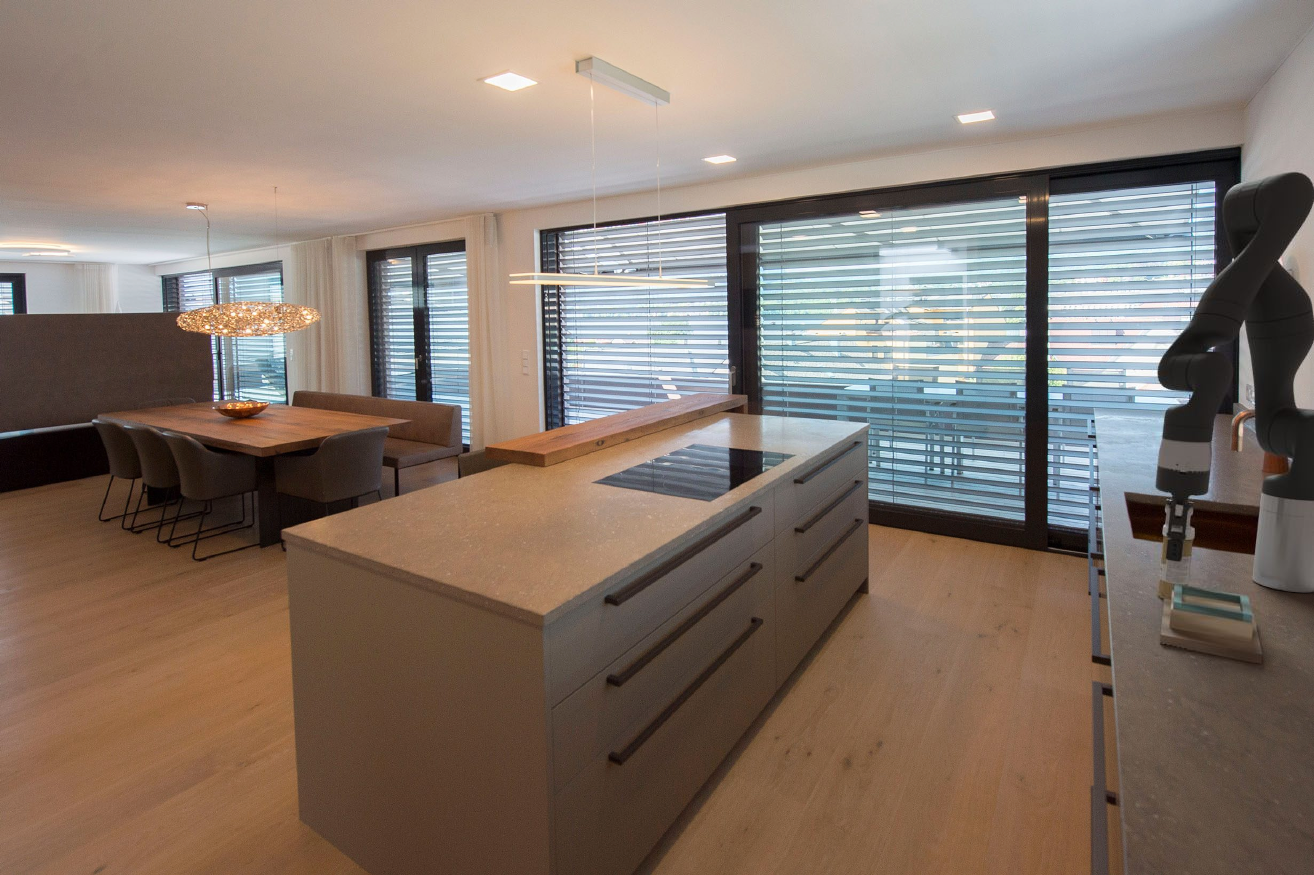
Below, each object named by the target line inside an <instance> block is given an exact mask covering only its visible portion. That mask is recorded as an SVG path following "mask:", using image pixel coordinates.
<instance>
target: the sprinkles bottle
mask: <svg viewBox="0 0 1314 875" xmlns="http://www.w3.org/2000/svg"><path fill="white" fill-rule="evenodd" d="M1172 531H1175V532H1182V530H1181V529H1177V528H1172V529H1171V532H1172ZM1167 533H1168V528H1167V527H1166V526H1165V524H1163V527H1162V535H1163V536H1162V538H1163V542H1162V549H1161V557H1160V564H1159V567H1160V568H1159V577H1158V578H1159V581H1158V582H1159V583H1158V591H1157V596H1158V597H1159V598H1160V599H1163V600H1164V599H1169V600H1171V598H1172V590H1174V586H1175V584H1177V585H1183V586H1189V584H1190V580H1191V579H1190V576H1191V568H1192V566H1191V565H1192V557H1193V556H1192V555H1193V554H1192V550H1193V542H1194V539H1195V534H1196V532H1195V527H1193V526H1191V525H1190V527H1189V529H1188V530H1186V532H1185V535H1186V539H1185V540H1184V542H1183V551H1182V560H1181V561H1180V562H1177V561H1170V560H1167V559H1166V552H1167V542H1168V539H1167V537H1166V534H1167Z"/></svg>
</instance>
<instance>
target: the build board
mask: <svg viewBox="0 0 1314 875" xmlns="http://www.w3.org/2000/svg"><path fill="white" fill-rule="evenodd" d="M1162 606H1163V607H1162V618H1161V625H1160V626H1161V628H1160V636H1159V638H1160V640H1159V644H1160V643H1162V644H1161V645H1164V644H1167V645H1166V646H1169V645H1173V646H1172V647H1174V646H1177V647H1176V648H1179V647H1182V648H1181V649H1184V648H1187V649H1186V650H1190V651H1194V650H1195V651H1194V652H1200V653H1203V654H1208V655H1209V654H1210V655H1215V656H1219V657H1224V658H1229V659H1233V660H1234V659H1235V660H1239V661H1245V662H1249V663H1255V664H1259V665H1262V660H1263V652H1262V648H1261V646H1262V645H1261V641H1260V638H1259V633H1258V627H1257V623H1256V618H1255V614H1254V613H1252V608H1251V604H1250V599H1249V595H1246V594H1239V593H1233V592H1227V591H1219V590H1214V589H1213V590H1212V589H1209V588H1202V587H1195V586H1189V585H1188V586H1183V585H1177V584H1175V586H1174V590H1172V598H1171V600H1169V599H1163V605H1162Z"/></svg>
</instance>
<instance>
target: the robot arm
mask: <svg viewBox="0 0 1314 875" xmlns="http://www.w3.org/2000/svg"><path fill="white" fill-rule="evenodd" d="M1313 205H1314V183H1313V182H1312V180H1311V179H1310V178H1309V176H1307V175H1306V174H1304V173H1302V172H1298V171H1293V172H1292V171H1290V172H1284V173H1282V172H1281V173H1278V174H1274V175H1270V176H1265V177H1261V178H1256V179H1253V180H1248V181H1244V182H1240V183H1238V184H1235V185H1233V186H1232V187H1231V188H1230V189H1229V190H1227V192H1226V194H1225V196H1224V198H1223V201H1222V221H1223V227H1224V230H1225V235H1226V237H1227V241H1228V245H1229V247H1230V252H1231V254H1232V257H1233V258H1232V259H1233V260H1232V261H1231V262H1230V263H1229V264H1228V265H1227V266H1226V267H1225V268H1224V269H1223V270H1221V272H1220V273H1219V274H1218V275H1217V276H1216V277H1215V278H1214V279H1212V281H1211V282H1210V284H1209V285H1208V286H1207V287H1206V289H1205V291H1204V292H1203V293H1202V296H1201V297H1200V299H1199V302H1198V303H1197V306H1196V308H1195V310H1194V312H1193V315H1192V318H1191V319H1190V322H1189V323H1188V324H1187V326H1186V327H1185V329H1183V331H1182V332H1181V333H1180V334H1179V335H1178V337H1177V338H1176V339H1175V340H1174V342H1172V344H1171V345H1170V346H1169V347H1168V348H1167V350H1166V351H1165V352H1164V353H1163V355H1162V357H1161V359H1160V361H1159V363H1158V366H1157V371H1156V372H1157V379H1158V382H1159V384H1160V385H1161V386H1162V387H1163V388H1164V389H1166V390H1169V391H1174V392H1175V391H1176V392H1189V393H1190V392H1191V393H1192V395H1191V397H1190V398H1189V400H1188V401H1187V403H1186V404H1179V405H1176V404H1175V405H1173V406H1169V407H1168V408H1167V409H1166V410H1165V414H1164V417H1163V426H1162V436H1161V442H1160V446H1159V449H1158V458H1157V469H1156V475H1155V476H1156V477H1155V488H1156V490H1158V491H1160V492H1162V493H1168V494H1170V495H1171V499H1165V506H1164V507H1165V508H1164V511H1165V513H1166V515H1165V521H1164V522H1165V524H1164V525H1165V526H1166V527H1167V528H1168V533H1167V534H1166V537H1167V539H1168V542H1167V552H1166V559H1167V560H1170V561H1177V562H1180V561H1181V560H1182V551H1183V542H1184V540H1185V539H1186V535H1185V532H1186V530H1188V529H1189V527H1190V526H1191V516H1193V514H1194V502H1192V501H1189V498H1190V497H1191V496H1196V497H1197V496H1198V497H1199V496H1204V495H1207V494H1208V493H1209V487H1210V486H1209V485H1210V477H1211V469H1212V460H1213V447H1212V445H1213V442H1212V441H1213V435H1214V427H1215V420H1216V417H1217V414H1218V412H1219V409H1220V407H1221V405H1222V403H1223V401H1224V399H1225V396H1226V394H1227V392H1228V390H1229V387H1230V386H1231V383H1232V380H1233V377H1234V368H1233V364H1232V362H1231V359H1230V358H1229V357H1228V356H1227V355H1226V353H1225V354H1224V353H1222V352H1219V351H1213V350H1212V351H1211V350H1210V349H1213V348H1214V347H1219V346H1223V345H1226V344H1229V343H1232V342H1233V341H1234V340H1235V339H1236V338H1237V336H1238V334H1239V333H1240V331H1241V328H1242V326H1243V324H1244V326H1245V327H1244V328H1245V333H1246V338H1247V344H1248V349H1249V354H1250V362H1251V370H1252V380H1253V390H1254V393H1253V394H1254V396H1253V397H1254V399H1253V400H1254V429H1255V435H1256V436H1255V437H1256V440H1257V443H1258V445H1259V447H1260V448H1261V449H1262V451H1264V452H1265V453H1267V454H1270V455H1273V456H1277V457H1278V456H1279V457H1283V458H1288V459H1292V460H1291V464H1290V467H1289V469H1288V471H1286V472H1284V473H1281V474H1274V475H1269V476H1266V477H1264V478H1263V481H1262V485H1261V495H1260V504H1259V515H1258V522H1257V532H1256V542H1255V550H1254V551H1255V552H1254V559H1253V560H1254V561H1253V570H1252V580H1253V582H1254V583H1257V584H1258V585H1262V586H1264V587H1268V588H1271V589H1274V590H1281V591H1284V592H1295V593H1314V409H1312V408H1311V409H1310V408H1309V409H1308V408H1298V407H1297V405H1296V398H1295V390H1294V384H1295V383H1294V381H1295V378H1296V375H1297V372H1298V370H1299V369H1300V367H1301V365H1302V364H1303V362H1304V361H1305V359H1306V358H1307V356H1308V354H1309V352H1310V350H1311V349H1312V347H1313V345H1314V309H1313V303H1312V299H1311V297H1310V295H1309V294H1308V292H1307V291H1306V290H1305V288H1304V287H1303V286H1302V285H1301V284H1300V282H1298V280H1297V279H1296V278H1294V276H1292V275H1291V274H1290V273H1289V271H1288V270H1286V269H1285V268H1284V266H1283V265H1282V264H1281V263H1280V262H1279V260H1280V259H1281V257H1282V256H1283V254H1284V253H1285V251H1286V250H1287V248H1288V247H1289V245H1290V244H1291V242H1292V241H1293V239H1294V238H1295V236H1296V235H1297V234H1298V232H1299V231H1300V229H1301V228H1302V227H1303V225H1304V223H1306V222H1305V221H1307V218H1308V216H1309V215H1310V213H1311V211H1312V209H1313V208H1312V207H1313ZM1209 350H1210V351H1209ZM1172 528H1177V529H1181V530H1182V532H1175V531H1172V532H1171V529H1172Z"/></svg>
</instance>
